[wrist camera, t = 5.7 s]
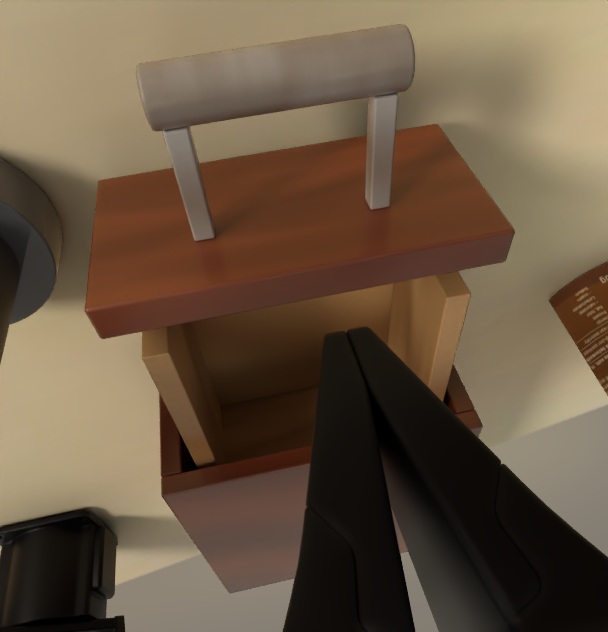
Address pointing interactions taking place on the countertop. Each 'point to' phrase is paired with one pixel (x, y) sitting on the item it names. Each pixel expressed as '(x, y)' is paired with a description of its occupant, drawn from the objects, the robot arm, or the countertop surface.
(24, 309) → the disc
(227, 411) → the drawer
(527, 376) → the countertop surface
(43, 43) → the countertop surface
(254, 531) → the cabinet
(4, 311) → the pepper mill
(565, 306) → the food container
